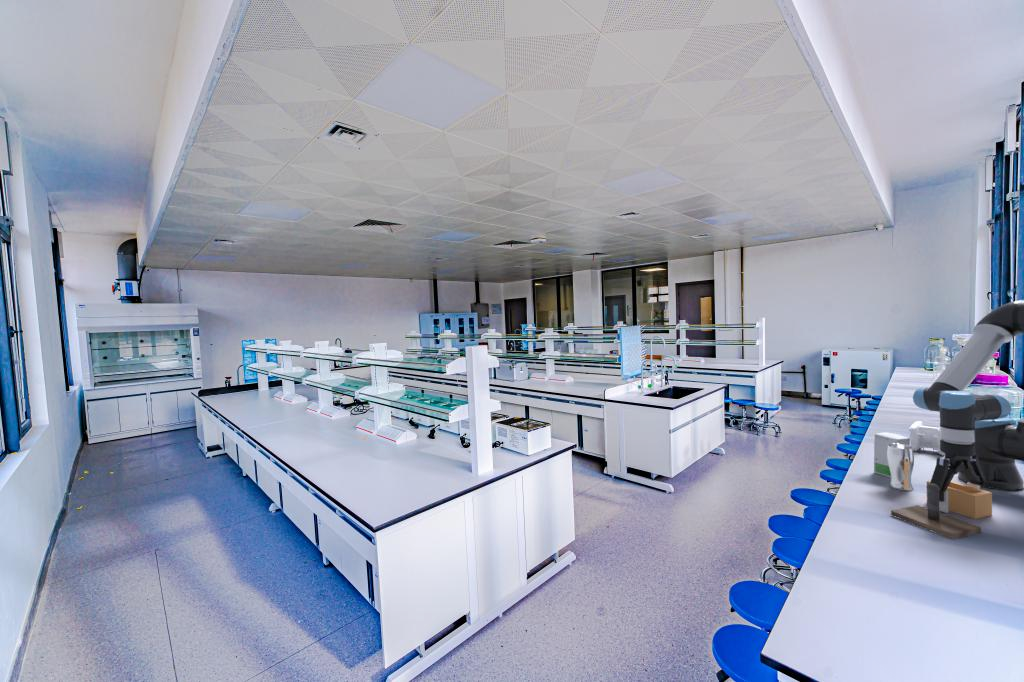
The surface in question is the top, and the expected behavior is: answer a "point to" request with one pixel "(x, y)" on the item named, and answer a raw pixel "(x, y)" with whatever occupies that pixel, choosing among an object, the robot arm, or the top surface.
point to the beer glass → (900, 466)
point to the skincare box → (885, 450)
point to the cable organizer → (924, 437)
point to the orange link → (968, 500)
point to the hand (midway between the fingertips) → (957, 507)
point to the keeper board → (937, 526)
